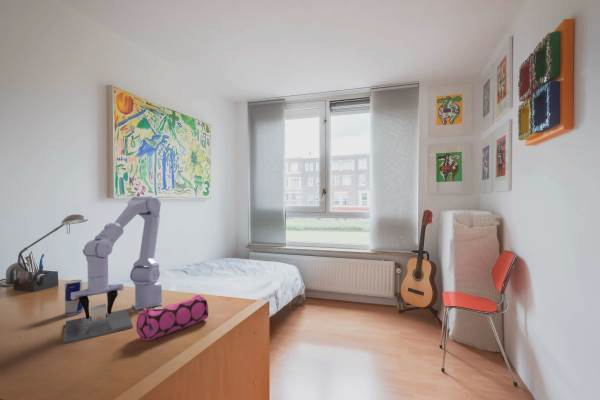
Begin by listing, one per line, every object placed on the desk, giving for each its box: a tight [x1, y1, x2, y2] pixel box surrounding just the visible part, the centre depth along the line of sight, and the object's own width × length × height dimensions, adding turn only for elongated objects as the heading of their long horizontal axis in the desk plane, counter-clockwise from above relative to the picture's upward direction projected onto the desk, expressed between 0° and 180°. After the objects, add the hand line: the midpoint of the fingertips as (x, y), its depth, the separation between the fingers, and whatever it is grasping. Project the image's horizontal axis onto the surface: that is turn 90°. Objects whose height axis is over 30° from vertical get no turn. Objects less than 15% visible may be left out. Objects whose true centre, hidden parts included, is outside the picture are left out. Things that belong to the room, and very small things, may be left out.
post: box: [90, 303, 107, 321], centre depth 100 cm, size 4×4×6 cm
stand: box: [62, 308, 134, 345], centre depth 100 cm, size 18×18×4 cm
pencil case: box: [135, 294, 209, 342], centre depth 96 cm, size 21×10×10 cm, turn 144°
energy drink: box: [64, 279, 84, 317], centre depth 112 cm, size 5×5×12 cm
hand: (98, 315), depth 100 cm, fingers open, 5 cm apart
